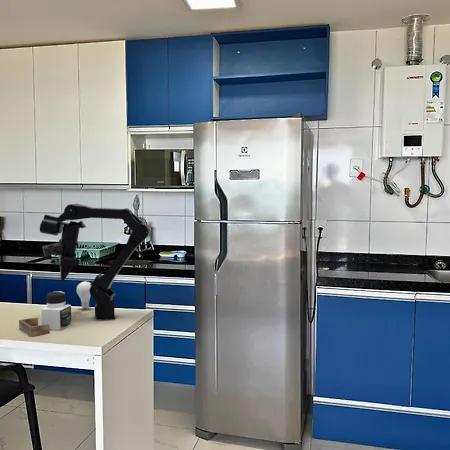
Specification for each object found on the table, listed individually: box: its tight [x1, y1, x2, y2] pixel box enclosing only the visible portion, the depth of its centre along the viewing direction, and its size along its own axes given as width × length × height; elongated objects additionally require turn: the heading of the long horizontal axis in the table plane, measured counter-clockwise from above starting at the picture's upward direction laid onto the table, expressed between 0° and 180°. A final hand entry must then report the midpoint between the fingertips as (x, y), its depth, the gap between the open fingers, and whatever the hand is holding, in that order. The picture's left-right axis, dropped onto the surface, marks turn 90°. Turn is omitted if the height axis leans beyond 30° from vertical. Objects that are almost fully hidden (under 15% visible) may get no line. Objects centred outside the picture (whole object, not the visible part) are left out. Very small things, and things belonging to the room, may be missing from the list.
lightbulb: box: [76, 281, 92, 310], centre depth 186 cm, size 6×6×11 cm
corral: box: [18, 316, 51, 338], centre depth 157 cm, size 6×12×3 cm, turn 40°
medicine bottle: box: [40, 291, 72, 331], centre depth 162 cm, size 7×7×12 cm
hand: (62, 280), depth 172 cm, fingers closed
